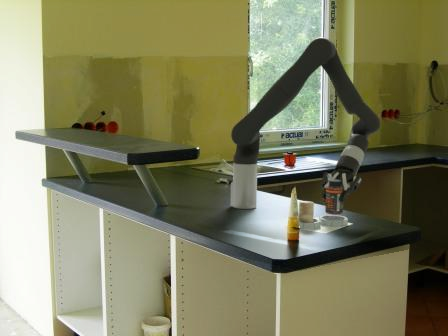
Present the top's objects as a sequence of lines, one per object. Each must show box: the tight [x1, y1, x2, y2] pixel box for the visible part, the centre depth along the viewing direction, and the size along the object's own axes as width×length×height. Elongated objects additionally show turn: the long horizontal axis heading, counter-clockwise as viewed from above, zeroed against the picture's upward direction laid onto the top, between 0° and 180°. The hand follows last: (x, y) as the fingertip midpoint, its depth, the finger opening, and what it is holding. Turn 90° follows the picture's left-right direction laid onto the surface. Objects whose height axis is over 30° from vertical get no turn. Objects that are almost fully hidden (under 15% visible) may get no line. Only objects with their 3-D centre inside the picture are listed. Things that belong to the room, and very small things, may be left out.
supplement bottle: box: [324, 179, 344, 215], centre depth 222 cm, size 6×6×11 cm
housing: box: [285, 214, 354, 234], centre depth 221 cm, size 15×19×3 cm
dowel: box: [298, 200, 315, 223], centre depth 218 cm, size 5×5×8 cm
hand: (331, 199), depth 221 cm, fingers closed on supplement bottle, 6 cm apart
